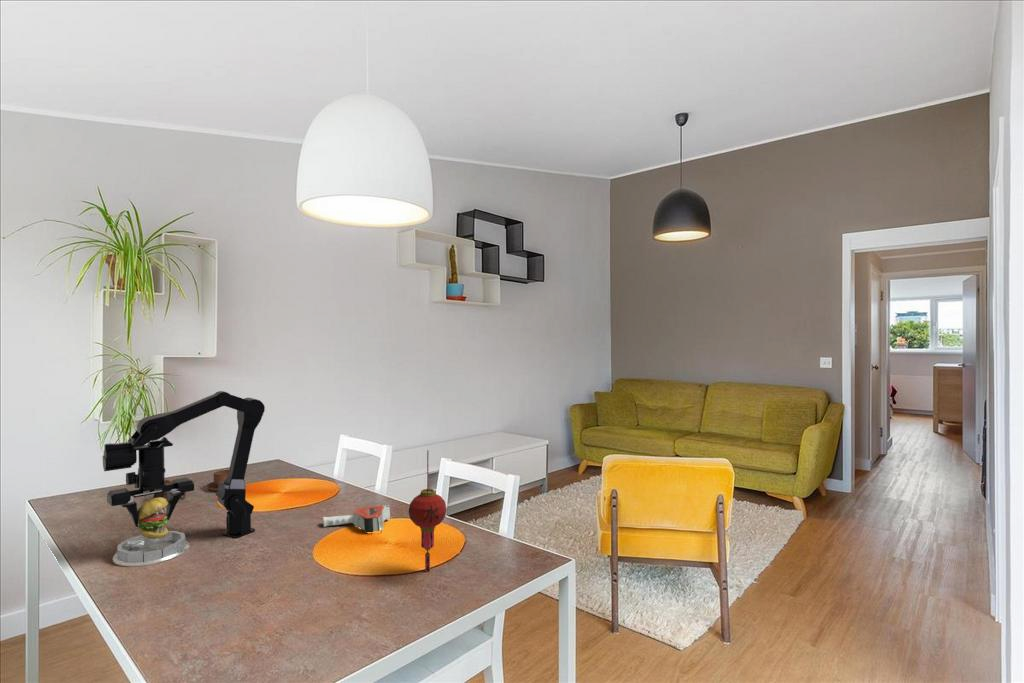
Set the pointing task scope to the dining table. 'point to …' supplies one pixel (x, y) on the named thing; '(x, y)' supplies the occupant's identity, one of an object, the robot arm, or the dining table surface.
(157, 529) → the hamburger
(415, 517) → the lantern
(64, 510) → the dining table surface
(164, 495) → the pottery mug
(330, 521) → the tape dispenser
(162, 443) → the robot arm
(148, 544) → the collar
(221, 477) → the cup and saucer
